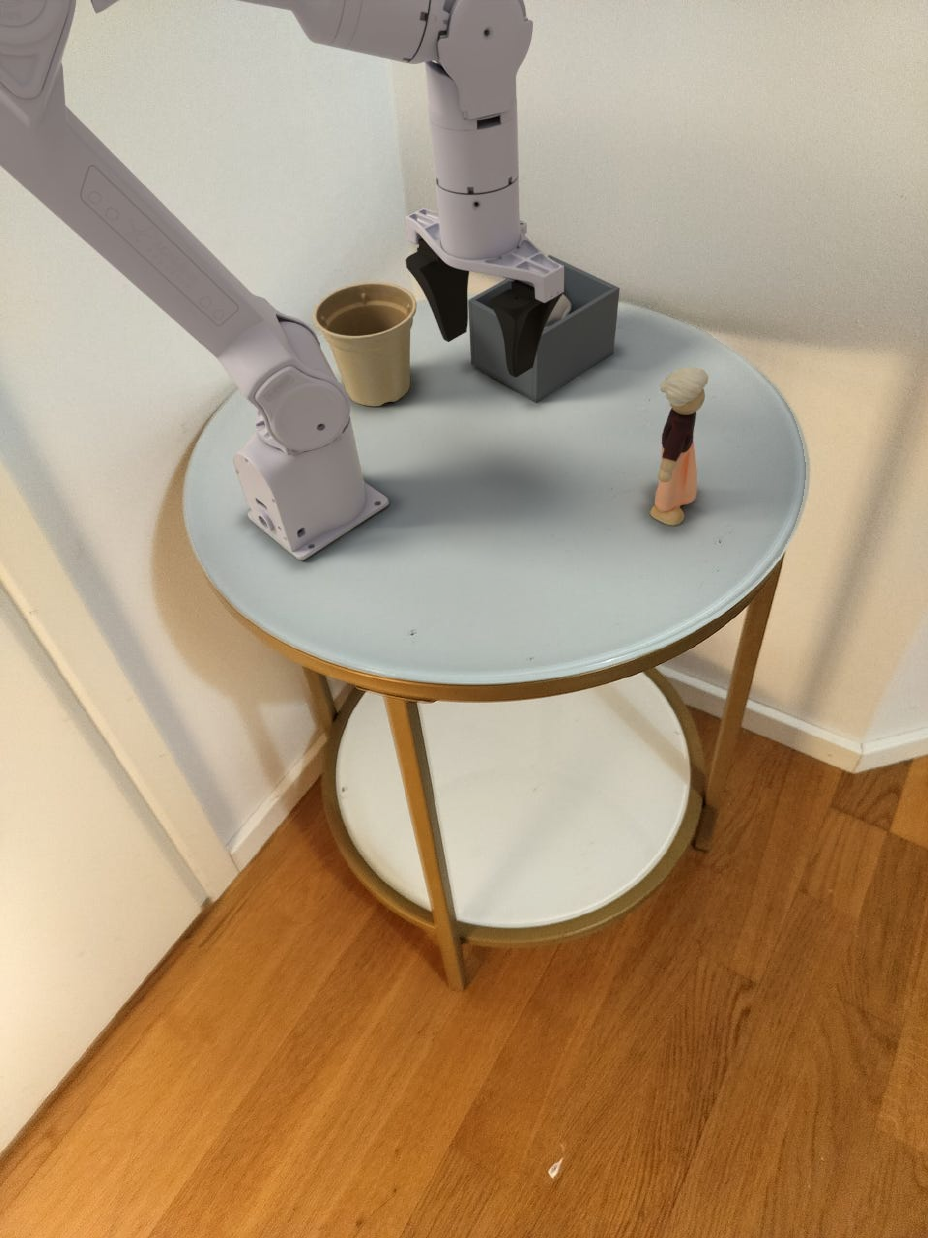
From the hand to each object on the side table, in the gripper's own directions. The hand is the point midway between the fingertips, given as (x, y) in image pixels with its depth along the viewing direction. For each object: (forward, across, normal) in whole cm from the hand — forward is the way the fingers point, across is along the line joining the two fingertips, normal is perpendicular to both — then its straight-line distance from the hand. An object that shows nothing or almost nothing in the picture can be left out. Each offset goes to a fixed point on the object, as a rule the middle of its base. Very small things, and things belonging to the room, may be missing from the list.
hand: (487, 352), depth 69 cm
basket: (+10, +8, -14) cm, 19 cm away
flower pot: (+10, +16, 0) cm, 19 cm away
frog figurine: (+10, +8, -14) cm, 19 cm away
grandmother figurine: (+10, -15, -5) cm, 19 cm away
